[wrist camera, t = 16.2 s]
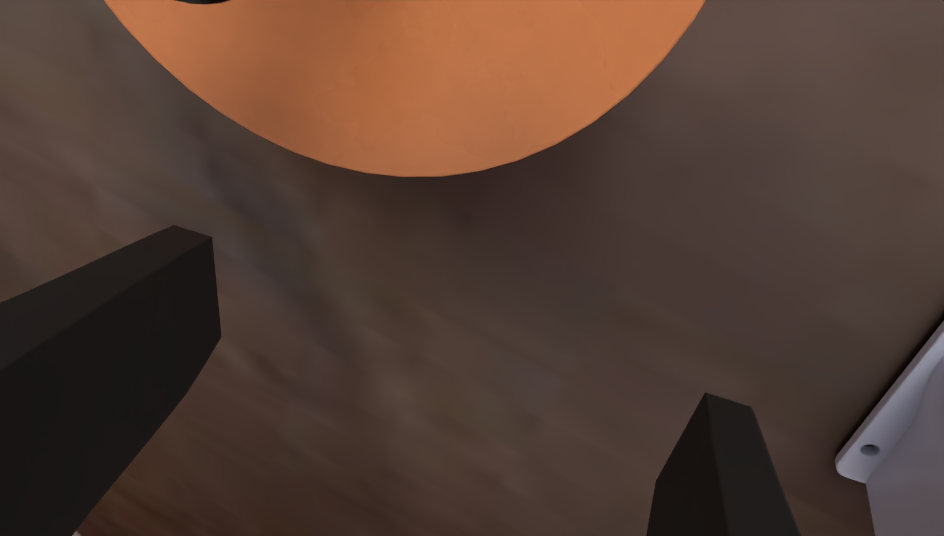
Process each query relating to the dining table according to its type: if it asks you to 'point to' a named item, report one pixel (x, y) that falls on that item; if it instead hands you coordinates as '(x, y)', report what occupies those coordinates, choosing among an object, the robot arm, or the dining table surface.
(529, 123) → the orange pot lid
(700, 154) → the dining table surface
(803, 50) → the dining table surface
